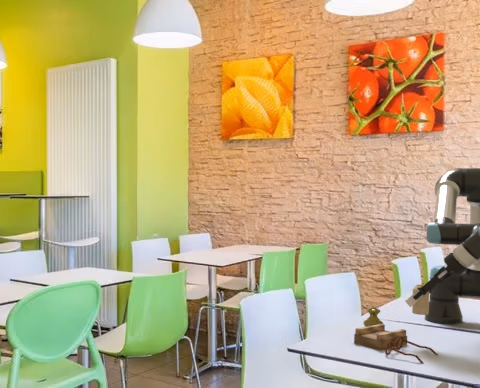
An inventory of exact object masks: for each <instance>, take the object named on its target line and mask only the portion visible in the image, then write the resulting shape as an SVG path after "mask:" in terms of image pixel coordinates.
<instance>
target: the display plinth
mask: <svg viewBox="0 0 480 388" xmlns="http://www.w3.org/2000/svg"><path fill="white" fill-rule="evenodd" d="M385 326H386V324H384V323H383V324H378V325H373V326H367V327H364V326H361V327H357V328H355V333H354V335H353V338H354V339H353V341H354V343H355V344H358V345H362V346H366V347H368V348H372V349H375V350H379V351H383V350H386V347H387V344H388V343H389V342H390V341H393V342H395V341H397V340H398V339H399V337H401V336H402V337H403V338H404V340H407V341H408V335H407V329H405V328H404V329H397V330H393V331H389V330H385ZM401 342H402V338H401V339H400V340H399V343H398V347H400V345H401ZM396 344H397V343H396ZM396 344H394V345H393V348H394V349H395V348H396ZM406 345H408V343H407V342H404V341H403V344H402V346H406ZM389 347H391V343H390V344H389Z"/></svg>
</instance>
